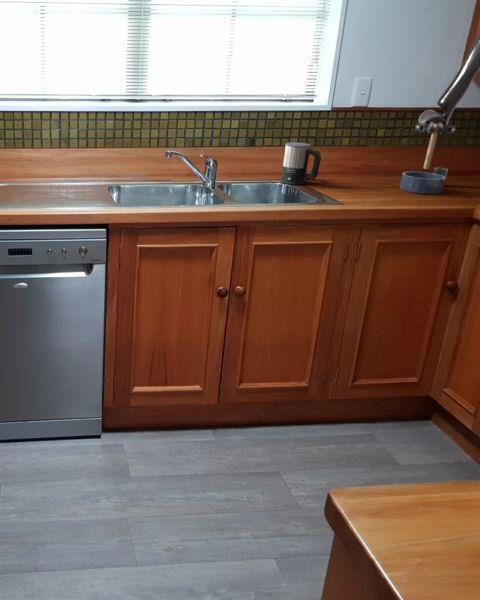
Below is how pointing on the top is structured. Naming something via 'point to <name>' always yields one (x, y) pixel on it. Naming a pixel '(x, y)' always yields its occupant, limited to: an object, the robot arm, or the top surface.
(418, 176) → the bowl
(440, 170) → the holder
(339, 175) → the top surface
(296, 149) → the milk frother
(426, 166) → the stick
